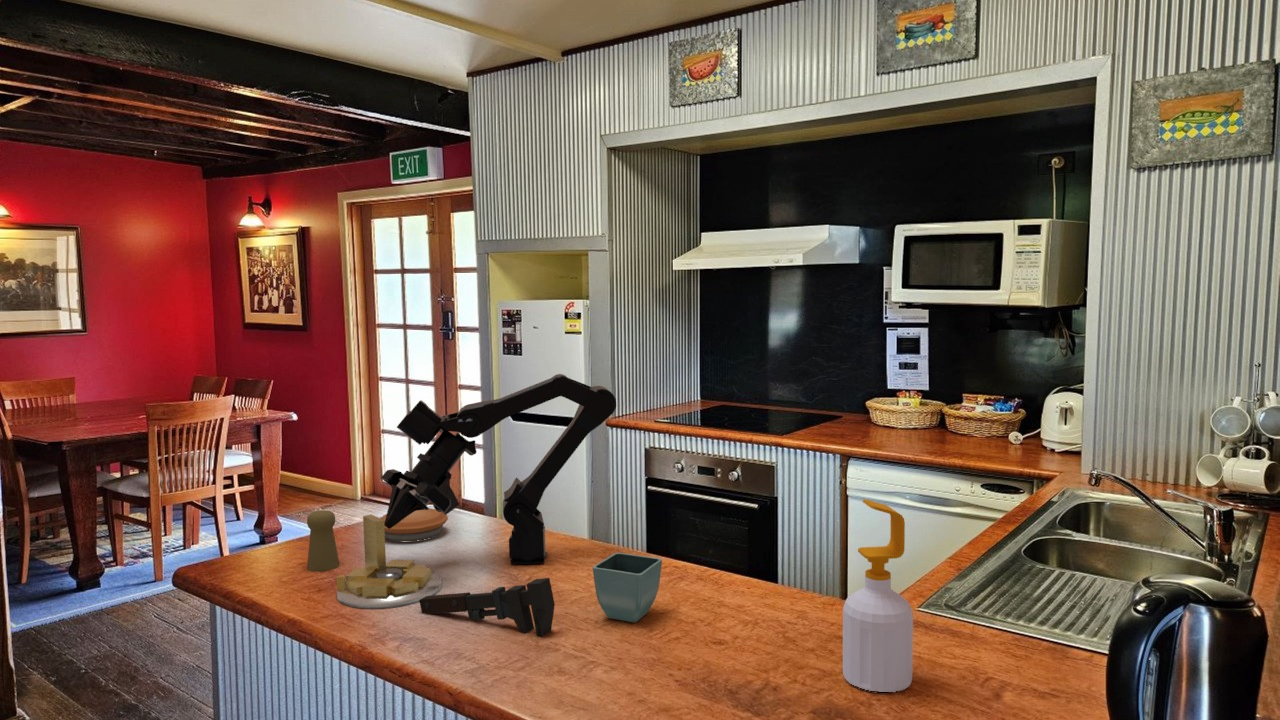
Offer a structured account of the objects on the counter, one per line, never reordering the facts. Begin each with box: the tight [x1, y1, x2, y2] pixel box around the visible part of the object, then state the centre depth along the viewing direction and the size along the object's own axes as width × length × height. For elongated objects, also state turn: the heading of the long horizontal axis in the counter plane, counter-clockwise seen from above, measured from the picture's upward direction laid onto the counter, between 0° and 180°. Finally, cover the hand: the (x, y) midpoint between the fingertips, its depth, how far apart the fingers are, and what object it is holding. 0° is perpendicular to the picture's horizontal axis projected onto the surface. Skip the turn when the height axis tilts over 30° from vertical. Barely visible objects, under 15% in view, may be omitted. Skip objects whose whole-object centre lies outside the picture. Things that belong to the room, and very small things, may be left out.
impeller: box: [336, 568, 442, 610], centre depth 155 cm, size 18×18×3 cm
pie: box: [379, 507, 449, 542], centre depth 190 cm, size 16×16×5 cm
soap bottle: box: [842, 498, 914, 693], centre depth 116 cm, size 9×9×25 cm
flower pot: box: [592, 552, 663, 623], centre depth 141 cm, size 9×9×9 cm
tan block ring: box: [345, 514, 432, 596], centre depth 155 cm, size 16×14×10 cm
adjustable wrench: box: [418, 577, 556, 638], centre depth 139 cm, size 8×3×25 cm
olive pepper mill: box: [306, 509, 340, 573], centre depth 169 cm, size 6×6×11 cm
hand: (386, 527), depth 160 cm, fingers closed
